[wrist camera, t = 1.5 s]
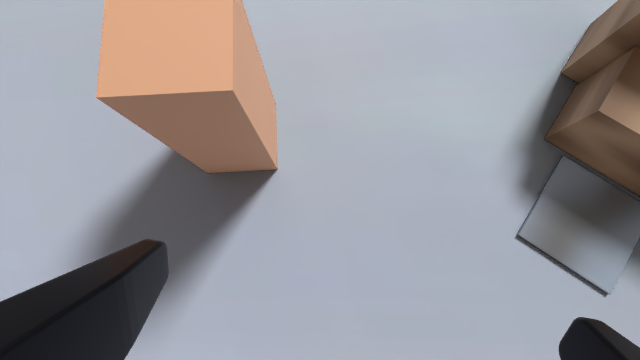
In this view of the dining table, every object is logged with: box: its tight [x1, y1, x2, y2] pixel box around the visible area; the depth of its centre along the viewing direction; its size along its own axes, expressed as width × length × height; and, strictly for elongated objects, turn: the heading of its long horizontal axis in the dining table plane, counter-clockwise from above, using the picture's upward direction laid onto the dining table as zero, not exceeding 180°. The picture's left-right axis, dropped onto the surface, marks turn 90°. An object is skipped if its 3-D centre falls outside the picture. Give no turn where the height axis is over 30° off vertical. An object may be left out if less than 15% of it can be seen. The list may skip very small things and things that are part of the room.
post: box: [96, 0, 278, 173], centre depth 17 cm, size 4×4×11 cm
